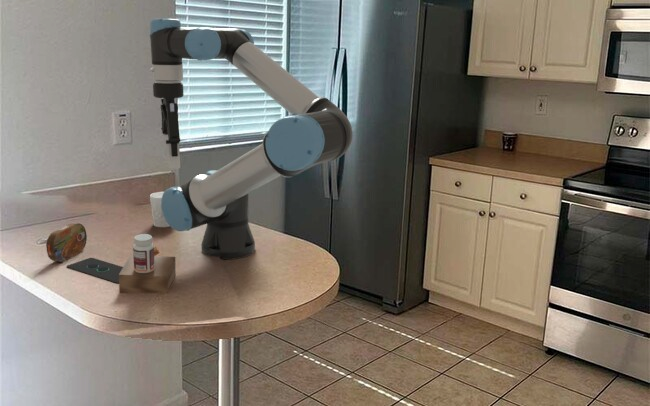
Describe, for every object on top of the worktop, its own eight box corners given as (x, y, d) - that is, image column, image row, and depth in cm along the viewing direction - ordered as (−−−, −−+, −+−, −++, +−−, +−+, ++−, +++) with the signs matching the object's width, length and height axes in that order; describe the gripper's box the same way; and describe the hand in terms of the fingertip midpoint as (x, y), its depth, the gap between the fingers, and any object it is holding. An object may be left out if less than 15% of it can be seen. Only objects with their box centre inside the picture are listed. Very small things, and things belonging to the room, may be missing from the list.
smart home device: (91, 256, 165) (143, 272, 155) (91, 262, 165) (144, 278, 156) (64, 265, 158) (117, 282, 148) (65, 271, 159) (118, 289, 149)
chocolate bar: (160, 254, 172) (160, 246, 172) (139, 269, 161) (139, 261, 160) (151, 253, 173) (151, 246, 172) (130, 268, 162) (130, 260, 161)
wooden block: (175, 274, 155) (175, 256, 153) (166, 295, 144) (166, 276, 143) (131, 272, 154) (130, 254, 152) (119, 293, 144) (118, 274, 142)
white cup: (151, 221, 200) (149, 192, 197) (175, 220, 202) (174, 191, 200) (152, 229, 193) (150, 198, 190) (177, 227, 195) (176, 197, 192)
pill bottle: (148, 263, 149) (147, 231, 146) (158, 270, 145) (157, 238, 143) (130, 268, 145) (128, 235, 143) (139, 275, 142) (138, 242, 139)
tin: (56, 266, 161) (53, 236, 159) (45, 265, 161) (42, 235, 159) (88, 247, 175) (86, 219, 173) (78, 246, 176) (76, 218, 173)
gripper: (148, 78, 166) (153, 154, 171) (157, 85, 143) (161, 174, 149) (177, 78, 168) (180, 153, 174) (189, 85, 146) (192, 172, 151)
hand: (171, 163), depth 161 cm, fingers open, 13 cm apart
